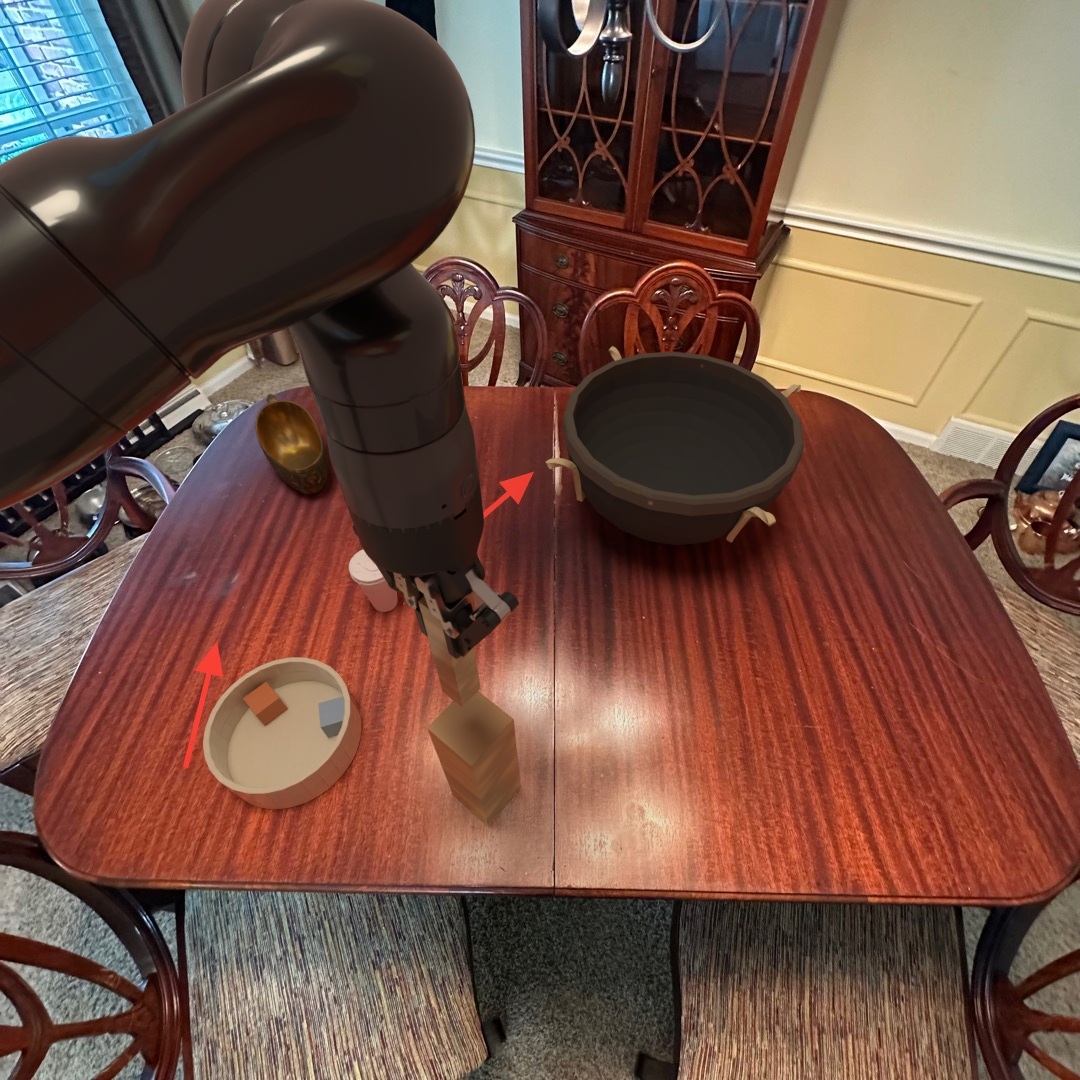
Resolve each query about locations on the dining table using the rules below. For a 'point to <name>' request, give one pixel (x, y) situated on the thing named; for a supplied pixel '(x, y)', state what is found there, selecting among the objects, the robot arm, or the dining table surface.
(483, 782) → the oak stand
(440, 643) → the wooden square bar
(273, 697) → the terracotta block
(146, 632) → the dining table surface
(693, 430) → the bowl
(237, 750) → the round beige tray
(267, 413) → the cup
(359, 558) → the smoothie
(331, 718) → the bluegrey block
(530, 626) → the dining table surface
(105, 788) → the dining table surface
